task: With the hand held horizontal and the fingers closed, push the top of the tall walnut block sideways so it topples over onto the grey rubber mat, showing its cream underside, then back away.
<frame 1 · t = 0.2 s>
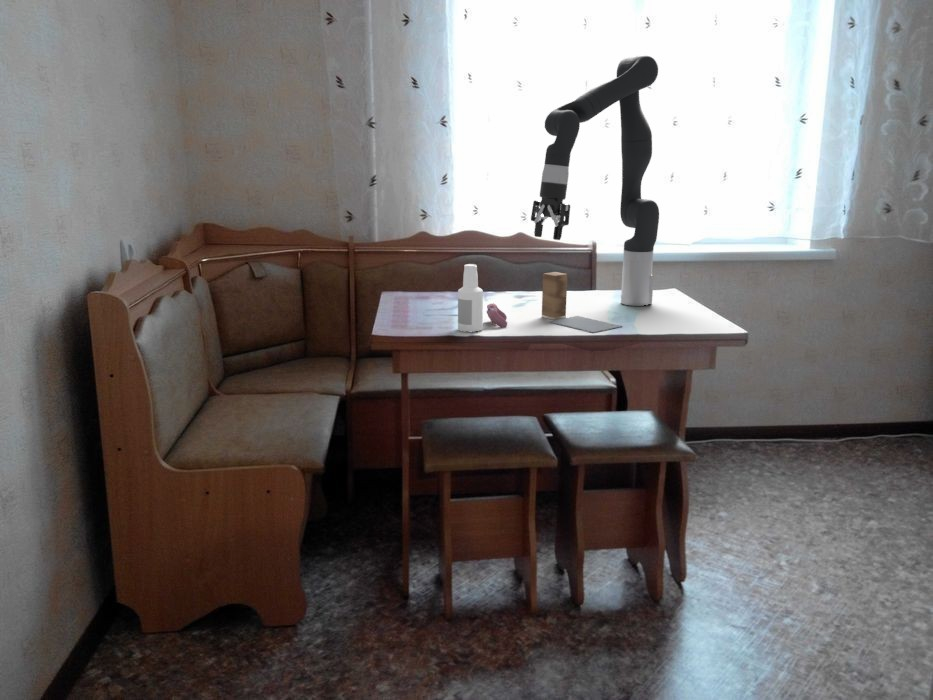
hand: (547, 238, 231), 23 cm above the table, tool pointing down, fingers open, 8 cm apart
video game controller: (496, 324, 226), on the table
spray bottle: (470, 330, 219), on the table
rubber mat: (584, 324, 226), on the table
walnut block: (553, 317, 235), on the table
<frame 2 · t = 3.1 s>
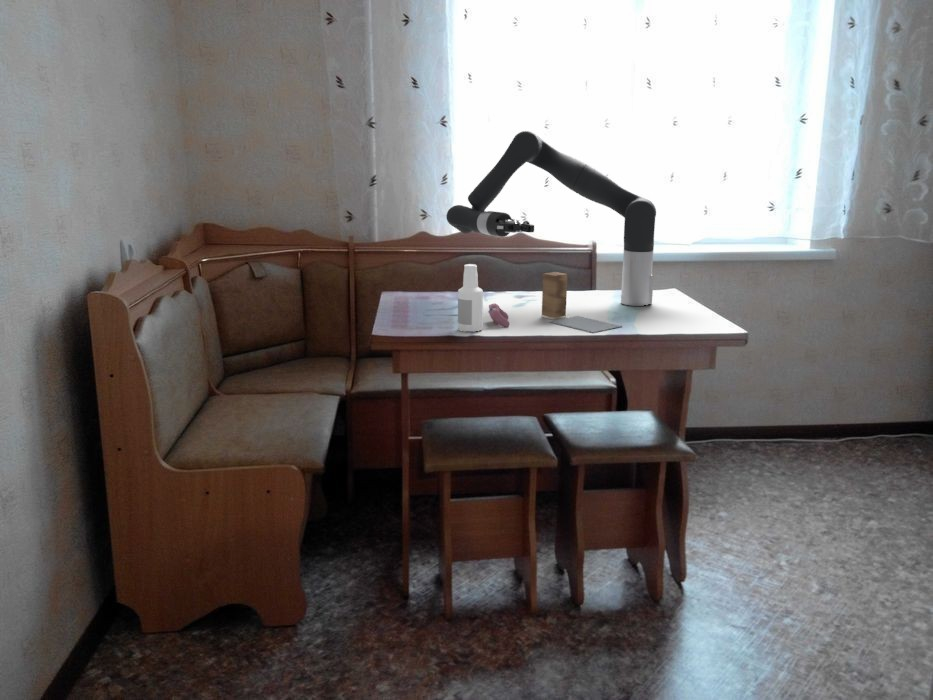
hand: (532, 228, 236), 25 cm above the table, tool horizontal, fingers closed
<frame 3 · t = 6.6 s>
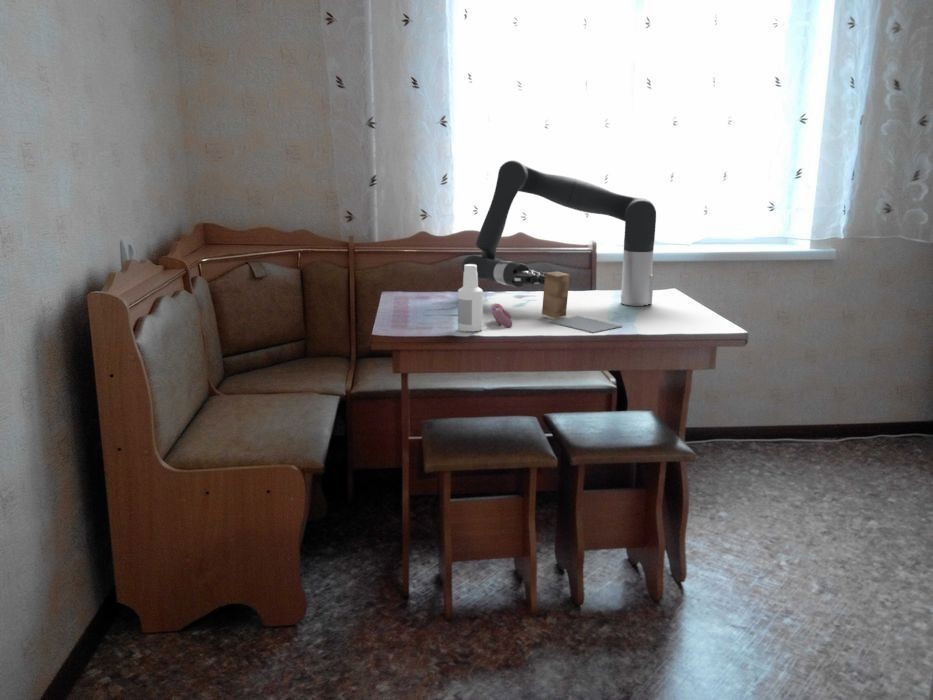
hand: (550, 281, 234), 11 cm above the table, tool horizontal, fingers closed
walnut block: (553, 316, 235), on the table, touching gripper
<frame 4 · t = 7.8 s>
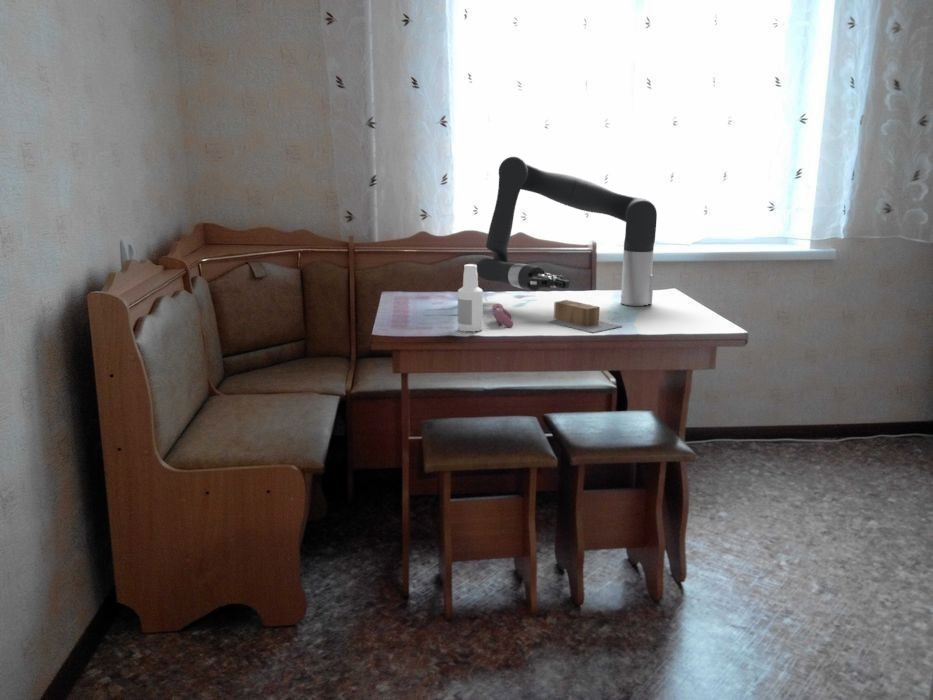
hand: (567, 284, 229), 11 cm above the table, tool horizontal, fingers closed
walnut block: (559, 309, 233), point 3 cm above the table, tilted 90°, touching rubber mat
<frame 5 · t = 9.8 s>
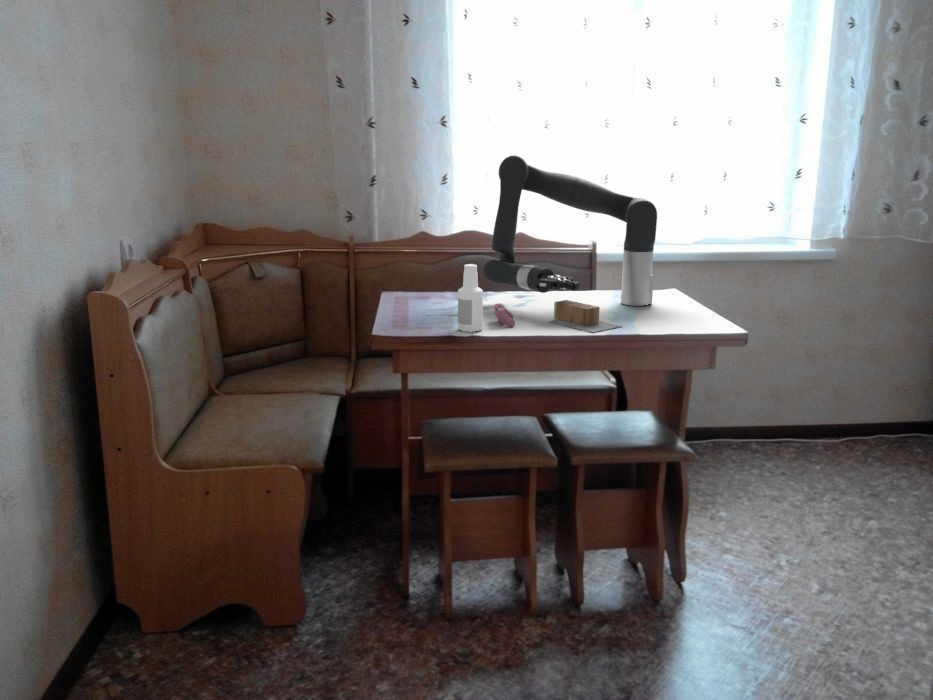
hand: (577, 286, 226), 10 cm above the table, tool horizontal, fingers closed
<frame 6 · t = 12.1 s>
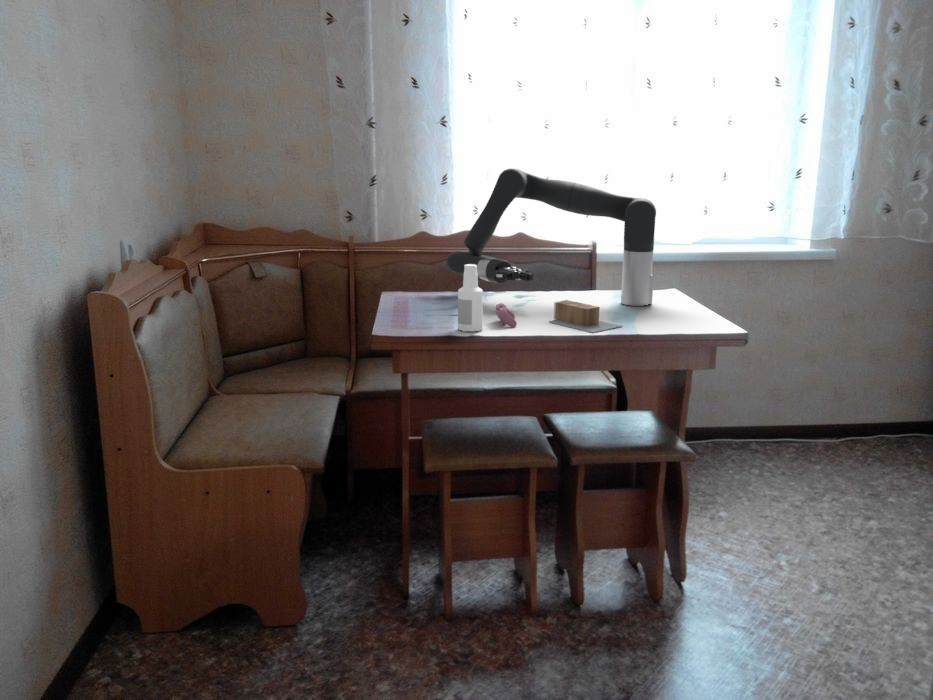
hand: (531, 277, 240), 11 cm above the table, tool horizontal, fingers closed
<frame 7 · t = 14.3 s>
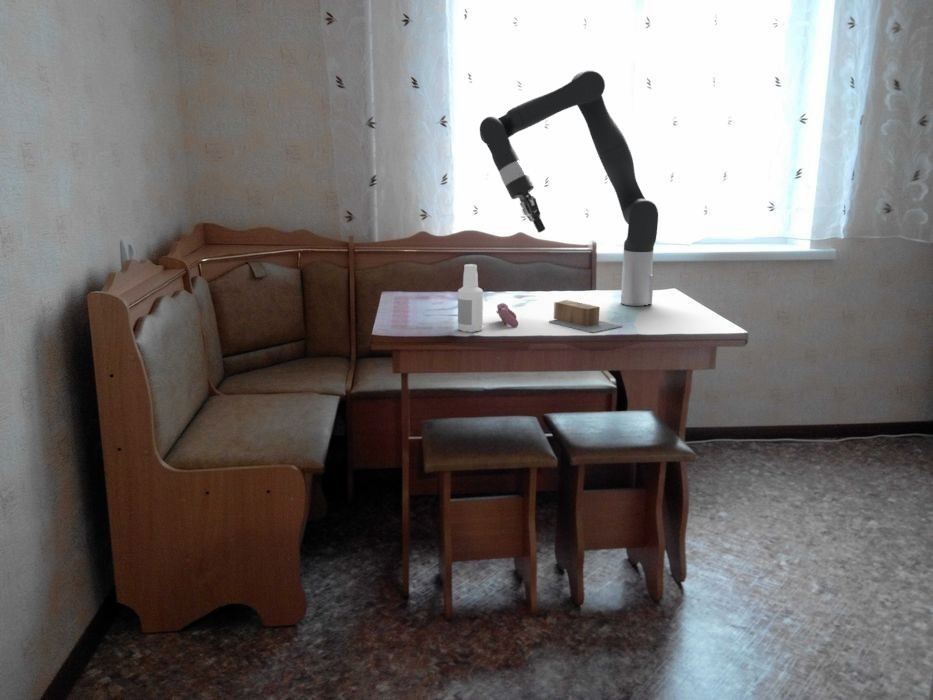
hand: (542, 231, 239), 24 cm above the table, tool tilted 30°, fingers closed
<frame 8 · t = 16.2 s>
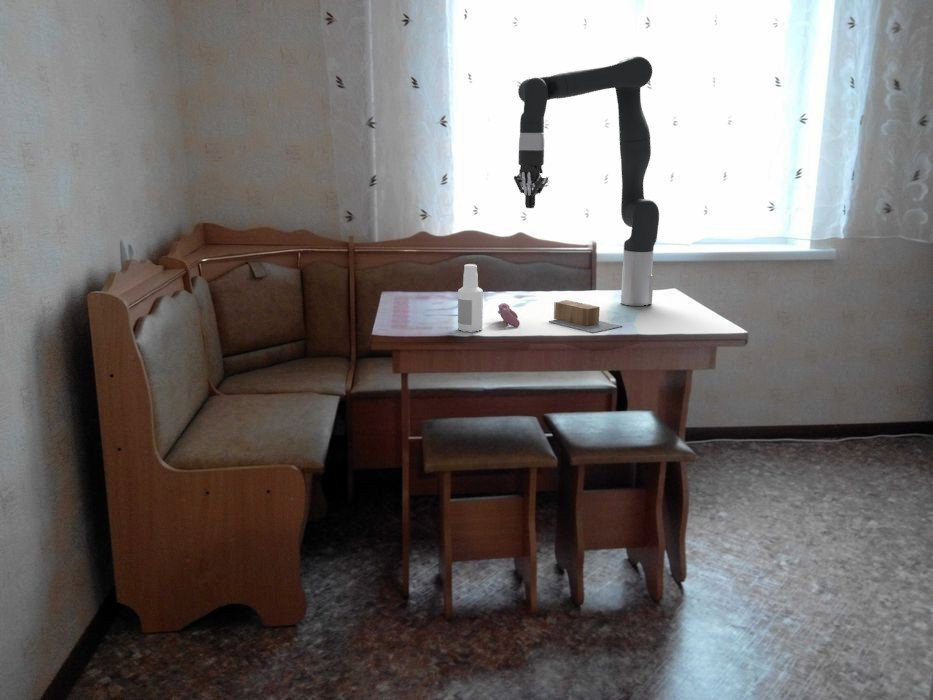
hand: (529, 208, 239), 31 cm above the table, tool pointing down, fingers closed
at the end: walnut block tilted 90°; walnut block inside the target area (7.9 cm from its centre), point 2.8 cm above the table; the gripper is holding nothing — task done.
